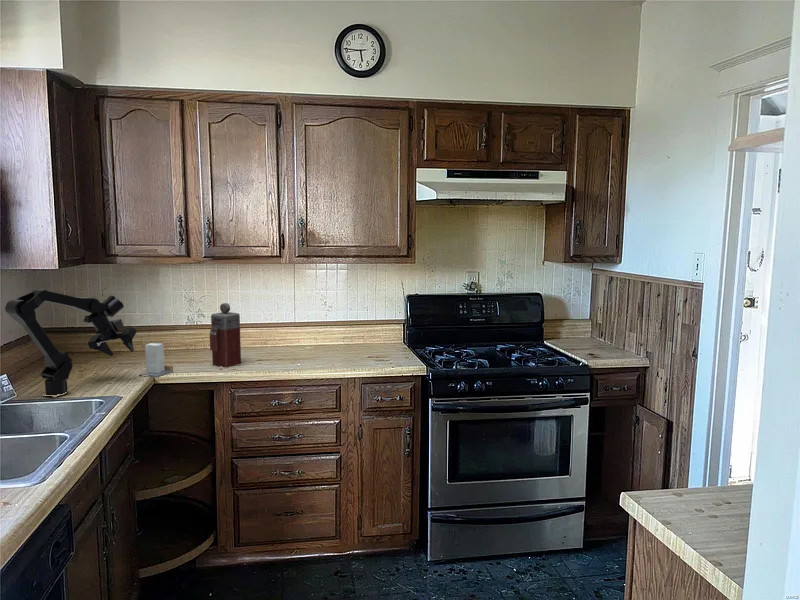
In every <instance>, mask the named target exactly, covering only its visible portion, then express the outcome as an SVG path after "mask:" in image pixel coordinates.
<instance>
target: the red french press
mask: <svg viewBox="0 0 800 600" xmlns="http://www.w3.org/2000/svg"><path fill="white" fill-rule="evenodd" d="M219 309H220V312H217V313H212V314H211V315H210V324H211V325H210V326H211V328H210V330H209V331H210V332H209V350H210V351H212V352H211V353H212V356H211V357H212V359H211V360H212V366H215V365H216V367H220V366H222V368H226V367H227V368H229V367H230V366H231V367H234V366H238V365H241V364H242V352H241V346H242V345H241V317H240V316H241V315H240V313H238V312H233V311H232V312H231V306H230V304H229V303H227V302H225V303H221V304H220V306H219ZM237 364H238V365H237ZM233 365H234V366H233Z"/></svg>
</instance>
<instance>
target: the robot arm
mask: <svg viewBox="0 0 800 600" xmlns="http://www.w3.org/2000/svg"><path fill="white" fill-rule="evenodd" d="M44 302H48V303H52V304H58V305H62V306H67V307H70V308H73V309H75V310H76V311H79V312H82V313H87V314H88V313H89V314H88V315H87V314H86V315H84V318H83V320H82V321H83V322H84V323H88V324H90V323H91V324H92V326H93V327H94V329H95V335H92V336H91V337H90V338H89V340H88V342H87V347H88V348H89V349H90V350H94V351H98V352H101V353H103V354H106V355H108V356H110V357H114V353H113V351H112V349H111V348H110V346H109V345H108V343H107V342H110V341H113V340H117V339H119V340H121V342H122V344H123V345H124V346H125V347H126V348H127V349H128V350H129V351H130V352H131V353H134V352H135V350H134V349H135V348H134V344H133V339H134V337H135V335H136V334H137V332H138V331H137V330H136V328H135V327H127V328H124V329H123V330H122V332H120V331H121V328H122V327H124V323H123V321H122V318H120V319H115V320H110V319H109V318H108V317H110V318H112V317H114V316H116V315H117V314H118V313H119V312H120V311H121V310H123V309H124V307H125V305H124V303H123V302H122V301H120V300H119V299H118V298H116V296H115V295H109V297H107V299H105V300H104V301H103V302H100V301H99V299H97V298H95V297H85V296H84V297H83V296H71V295H66V294H62V293H57V292H53V291H49V290H47V289H41V288H39V289H38V288H36V289H34V290H32V291H31V292H29V293H27V294H23V295H21V296H19V297H17V298H15V299H14V298H13V299H10V300H9V301H7V302H6V304H5V307H4V309H5V312H6V313H7V315H9V316H10V317H11V318H12V320H14V321H16V322H17V323H19V324H20V325H21V326H22V327H23V329H24V330H25V331H26V333H27V335H29V337H30V338H31V340H32V341H33V342H34V344H35V346H37V348H38V349H39V351H40V352H41V354H42V355H43V358H44V364H45V367H44V368H43V370H42V371H41V372H40V376H41V378H42V379H44V387H45V389H44V390H45V394H46V395H57V394H63V393H65V392H68V379H69V377H70V373H71V371H72V369H73V365H74V364H73V362H72V361H73V359H72V358H71V357H70V355H69V353H68V352H66V351H62V350H58V349H57V347H56V346H55V345H54V343H53V342H52V340H51V339H50V338H49V336H48V335H47V333H46V331H45V330H44V329H43V327H42V326H41V325H40V323H39V321H38V320H37V314H36V309H38V308H39V307H41V305H42V304H43V303H44ZM118 332H119V333H118Z"/></svg>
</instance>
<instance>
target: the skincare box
mask: <svg viewBox="0 0 800 600" xmlns="http://www.w3.org/2000/svg"><path fill="white" fill-rule="evenodd" d="M144 349H145V351H144V353H145V368H146V371H147V373H161V372H163V371H165V369H164V365H165V354H164V350H165V349H164V343H157V342H155V343H154V342H150V343H147V344H145V346H144ZM146 371H145V372H146Z"/></svg>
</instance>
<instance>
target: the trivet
mask: <svg viewBox="0 0 800 600" xmlns="http://www.w3.org/2000/svg"><path fill="white" fill-rule="evenodd" d="M164 369H165V371H163V372H161V373H147V371H143V372H141V373H139V374H141V375H142V374H143V375H149V376H151V377H150V378H156V379H157V378H160V377H162V376H165V375H169V374H171V373H173V372H174V365H173V364H164ZM172 371H173V372H172ZM170 372H171V373H170Z"/></svg>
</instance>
